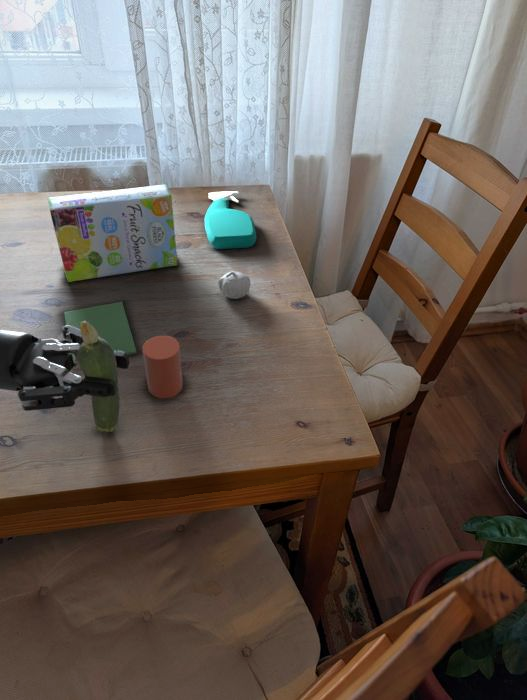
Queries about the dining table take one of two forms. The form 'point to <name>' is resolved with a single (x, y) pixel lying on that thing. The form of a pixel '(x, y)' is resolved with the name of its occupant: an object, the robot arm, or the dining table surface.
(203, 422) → the dining table surface
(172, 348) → the orange cylinder block
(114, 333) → the green mat
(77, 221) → the snack box
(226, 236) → the spray bottle
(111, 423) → the vegetable
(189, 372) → the dining table surface
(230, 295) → the garlic
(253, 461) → the dining table surface
